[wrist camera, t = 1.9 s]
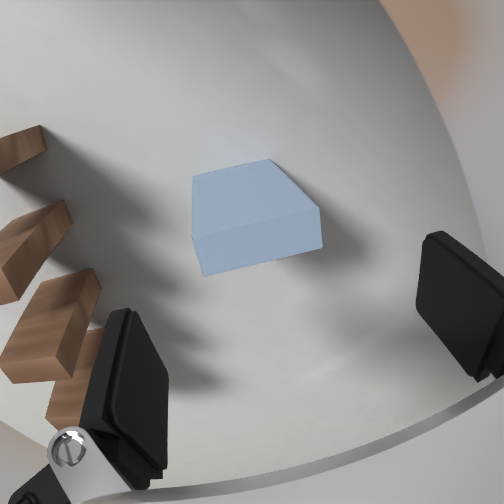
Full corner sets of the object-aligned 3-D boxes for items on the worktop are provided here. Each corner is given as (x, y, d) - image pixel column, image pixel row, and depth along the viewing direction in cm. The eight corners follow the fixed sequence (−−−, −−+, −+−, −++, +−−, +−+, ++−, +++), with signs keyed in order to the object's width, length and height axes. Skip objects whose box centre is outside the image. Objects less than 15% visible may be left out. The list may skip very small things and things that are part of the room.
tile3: (12, 220, 19) (-54, 288, 11) (64, 200, 19) (1, 268, 11) (21, 241, 19) (-38, 315, 12) (73, 223, 20) (18, 300, 12)
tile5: (71, 333, 24) (45, 418, 16) (120, 324, 24) (103, 415, 16) (81, 348, 25) (59, 431, 17) (128, 339, 25) (116, 429, 17)
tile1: (192, 176, 20) (191, 237, 12) (269, 159, 20) (319, 207, 12) (199, 202, 21) (203, 276, 13) (274, 185, 21) (322, 247, 13)
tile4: (41, 282, 21) (-4, 363, 13) (92, 268, 22) (55, 356, 14) (51, 300, 22) (13, 383, 14) (101, 288, 22) (72, 378, 15)
